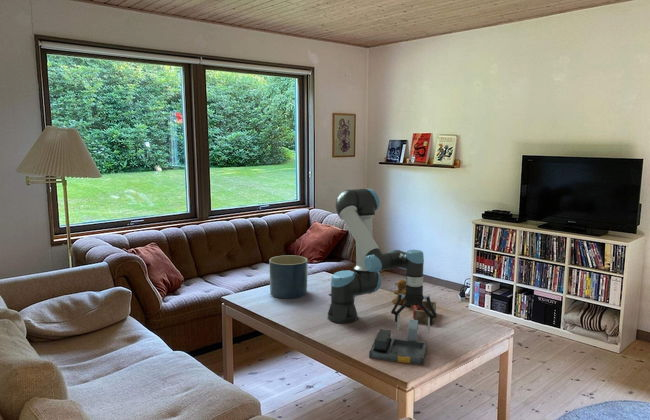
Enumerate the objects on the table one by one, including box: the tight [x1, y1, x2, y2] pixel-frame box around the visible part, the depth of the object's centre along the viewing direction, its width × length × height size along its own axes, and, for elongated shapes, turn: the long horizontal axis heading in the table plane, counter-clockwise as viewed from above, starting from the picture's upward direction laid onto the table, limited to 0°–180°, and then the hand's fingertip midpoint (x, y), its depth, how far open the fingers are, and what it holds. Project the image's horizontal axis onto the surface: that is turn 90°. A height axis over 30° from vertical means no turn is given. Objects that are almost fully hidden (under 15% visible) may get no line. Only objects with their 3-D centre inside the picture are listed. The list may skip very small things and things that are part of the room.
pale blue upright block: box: [407, 319, 419, 341], centre depth 223 cm, size 4×12×7 cm, turn 168°
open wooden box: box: [413, 300, 437, 325], centre depth 250 cm, size 9×16×6 cm, turn 164°
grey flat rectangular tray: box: [368, 328, 428, 366], centre depth 208 cm, size 22×18×7 cm
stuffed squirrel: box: [391, 279, 412, 307], centre depth 270 cm, size 10×14×13 cm
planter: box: [268, 254, 309, 300], centre depth 286 cm, size 22×22×20 cm
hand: (413, 330), depth 223 cm, fingers open, 13 cm apart
